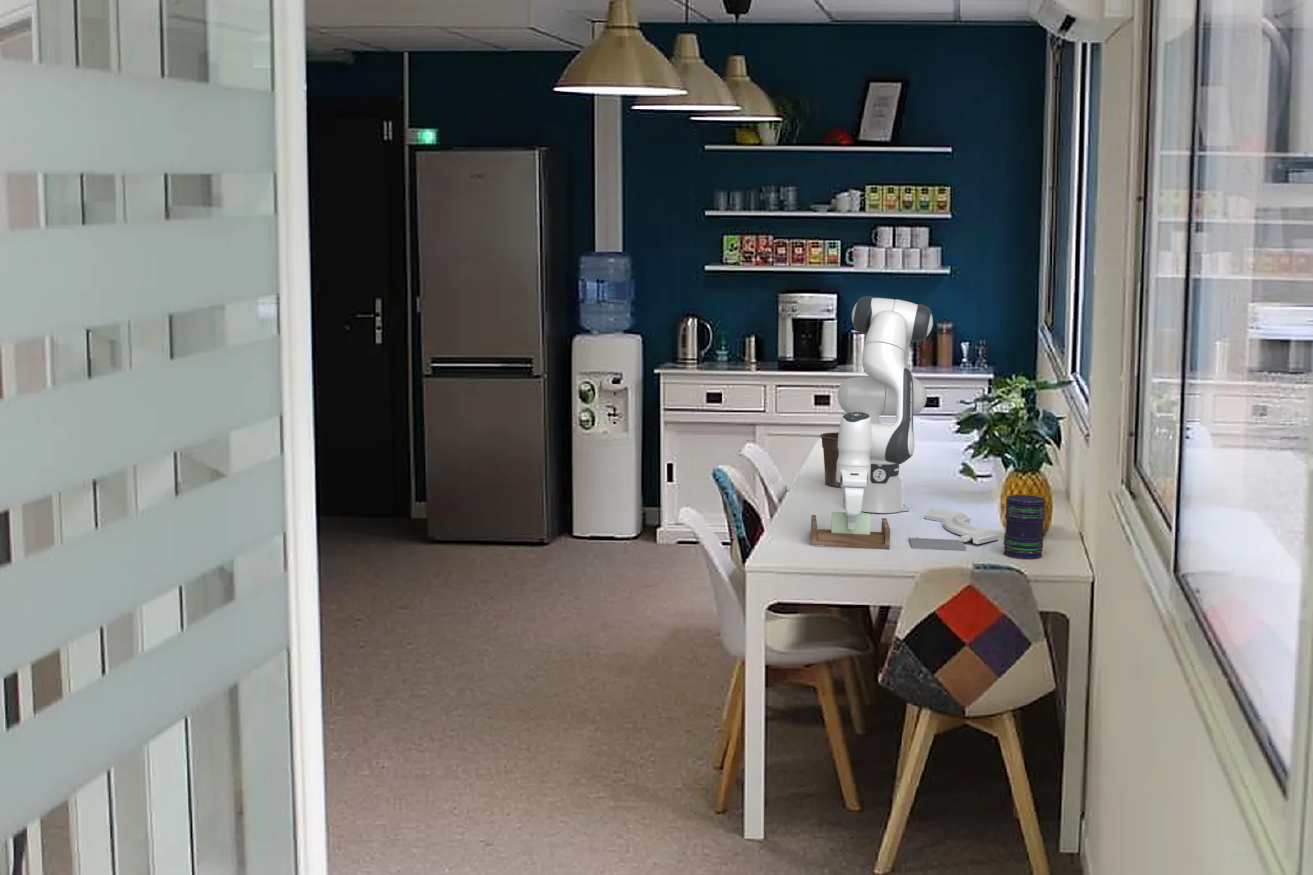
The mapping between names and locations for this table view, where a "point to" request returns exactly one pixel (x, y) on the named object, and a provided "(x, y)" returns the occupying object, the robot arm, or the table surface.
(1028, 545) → the storage jar
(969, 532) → the molding
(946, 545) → the mat
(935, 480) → the table surface
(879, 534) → the rack
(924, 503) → the table surface
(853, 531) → the wide pale green sheet
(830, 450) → the plant pot
